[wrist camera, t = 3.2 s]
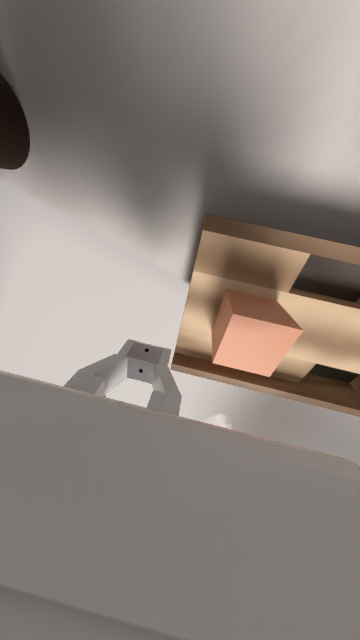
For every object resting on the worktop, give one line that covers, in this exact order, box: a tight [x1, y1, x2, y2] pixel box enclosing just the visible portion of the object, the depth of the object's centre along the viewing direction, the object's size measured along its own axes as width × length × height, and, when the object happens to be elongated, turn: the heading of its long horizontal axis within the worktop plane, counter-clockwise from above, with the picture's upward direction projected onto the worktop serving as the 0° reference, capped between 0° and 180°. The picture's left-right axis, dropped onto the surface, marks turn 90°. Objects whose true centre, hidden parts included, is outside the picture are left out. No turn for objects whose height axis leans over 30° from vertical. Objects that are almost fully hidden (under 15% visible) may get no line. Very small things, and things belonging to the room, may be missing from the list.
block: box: [211, 289, 304, 377], centre depth 15 cm, size 5×5×5 cm
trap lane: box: [171, 214, 360, 416], centre depth 17 cm, size 16×33×4 cm, turn 79°
